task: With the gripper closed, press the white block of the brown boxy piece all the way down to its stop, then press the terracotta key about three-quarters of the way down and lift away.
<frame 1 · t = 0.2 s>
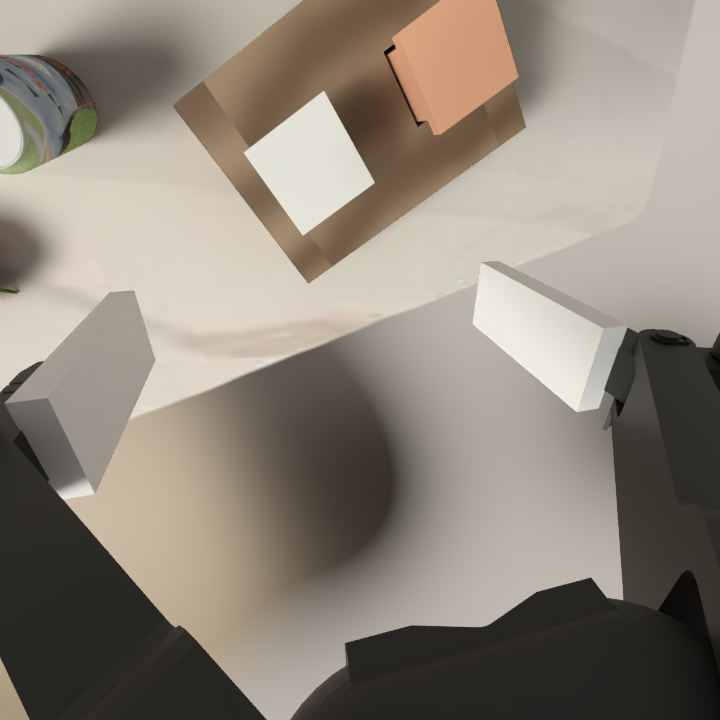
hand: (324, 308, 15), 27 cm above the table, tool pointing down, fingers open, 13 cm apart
brown boxy piece: (348, 121, 36), on the table
beverage can: (59, 115, 32), on the table
white block: (306, 165, 30), point 8 cm above the table, slide at 0.0 cm
terracotta key: (437, 66, 29), point 8 cm above the table, slide at 0.0 cm
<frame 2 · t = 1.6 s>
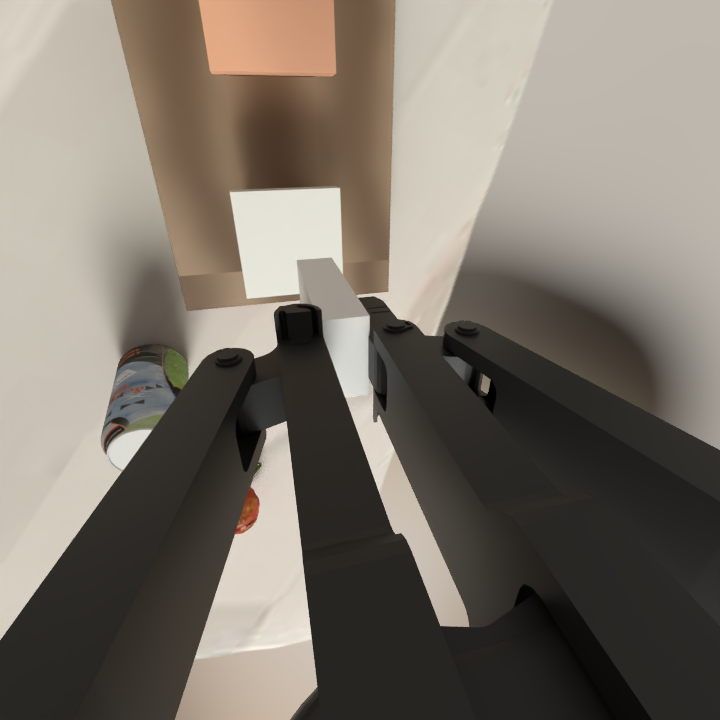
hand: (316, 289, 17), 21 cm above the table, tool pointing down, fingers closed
brown boxy piece: (271, 136, 32), on the table
red round fruit: (232, 476, 48), on the table
beverage can: (163, 368, 39), on the table
white block: (286, 232, 28), point 8 cm above the table, slide at 0.0 cm
terracotta key: (264, 12, 22), point 8 cm above the table, slide at 0.0 cm
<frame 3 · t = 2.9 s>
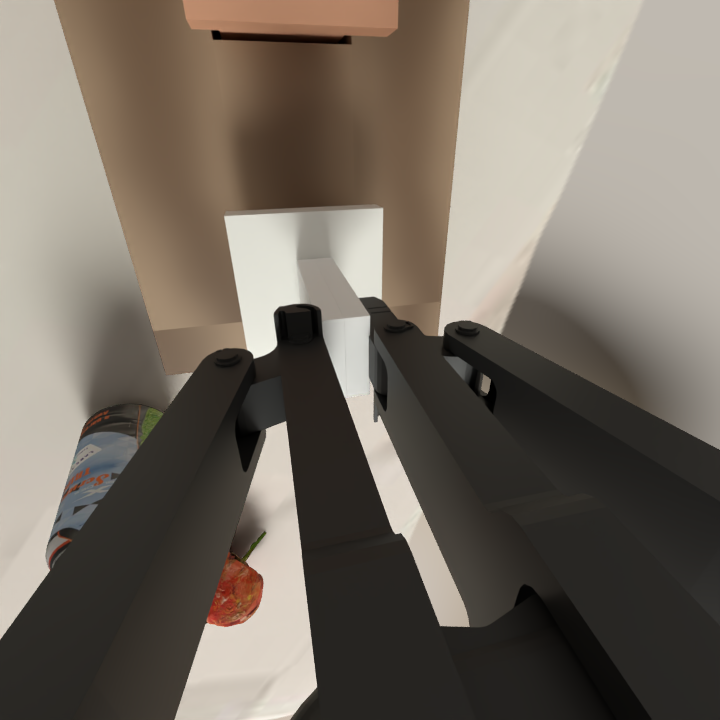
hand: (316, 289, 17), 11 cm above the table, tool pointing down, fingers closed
brown boxy piece: (281, 134, 23), on the table
red round fruit: (230, 546, 40), on the table
beverage can: (142, 429, 31), on the table
white block: (302, 264, 21), point 7 cm above the table, slide at 1.3 cm, touching gripper
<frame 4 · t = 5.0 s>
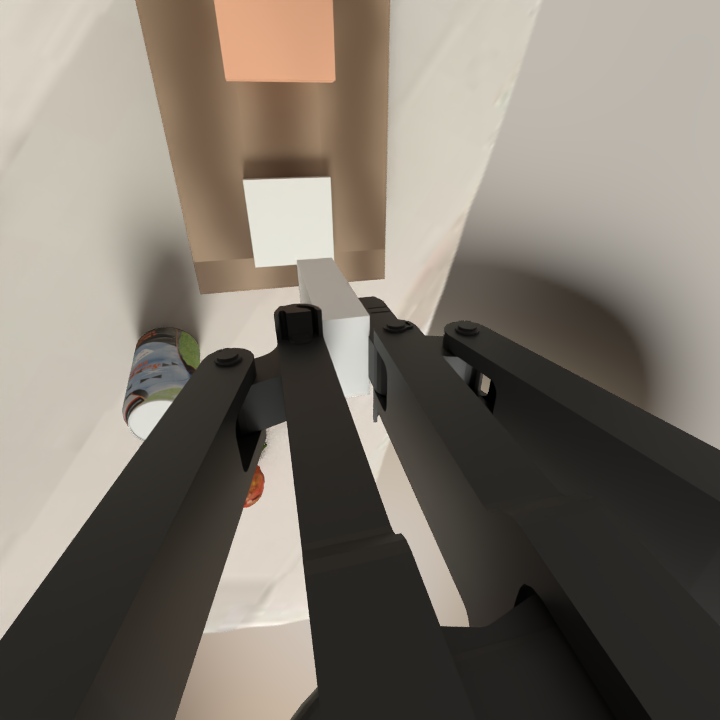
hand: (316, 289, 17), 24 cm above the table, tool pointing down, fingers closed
brown boxy piece: (277, 135, 35), on the table
red round fruit: (239, 455, 51), on the table
beverage can: (176, 351, 42), on the table
white block: (288, 215, 34), point 4 cm above the table, slide at 3.6 cm
terracotta key: (272, 26, 25), point 8 cm above the table, slide at 0.0 cm
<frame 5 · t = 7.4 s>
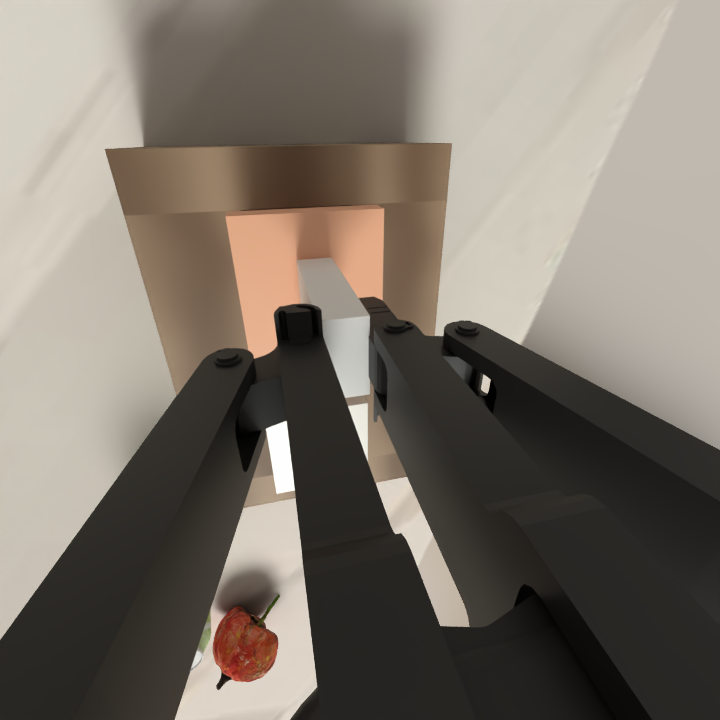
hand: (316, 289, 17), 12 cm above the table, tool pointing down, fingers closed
brown boxy piece: (299, 316, 30), on the table
red round fruit: (249, 607, 46), on the table
beverage can: (180, 523, 37), on the table
white block: (312, 414, 29), point 4 cm above the table, slide at 3.6 cm
terracotta key: (303, 264, 21), point 7 cm above the table, slide at 0.7 cm, touching gripper
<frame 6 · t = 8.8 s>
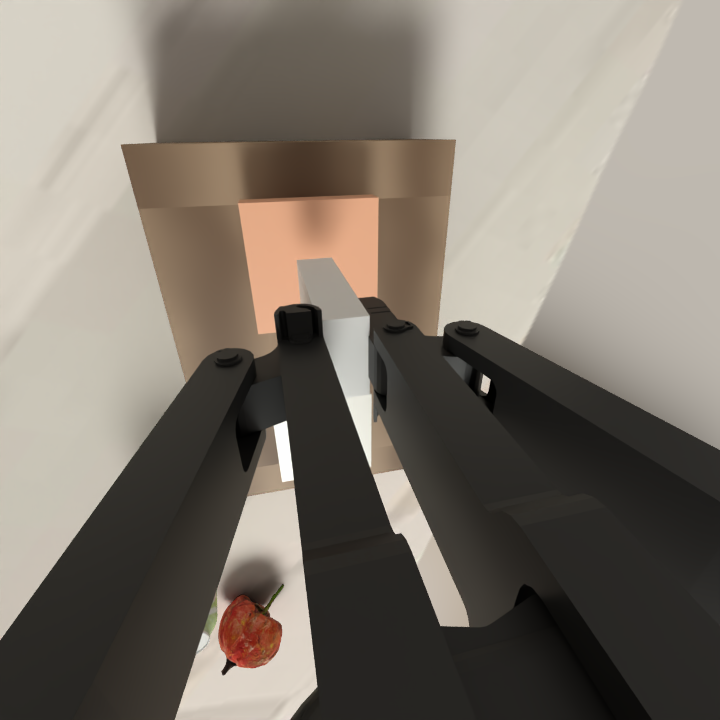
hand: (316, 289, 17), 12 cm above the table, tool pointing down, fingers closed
brown boxy piece: (305, 310, 31), on the table
red round fruit: (254, 596, 47), on the table
beverage can: (188, 512, 38), on the table
white block: (317, 405, 30), point 4 cm above the table, slide at 3.6 cm
terracotta key: (307, 249, 23), point 6 cm above the table, slide at 2.4 cm
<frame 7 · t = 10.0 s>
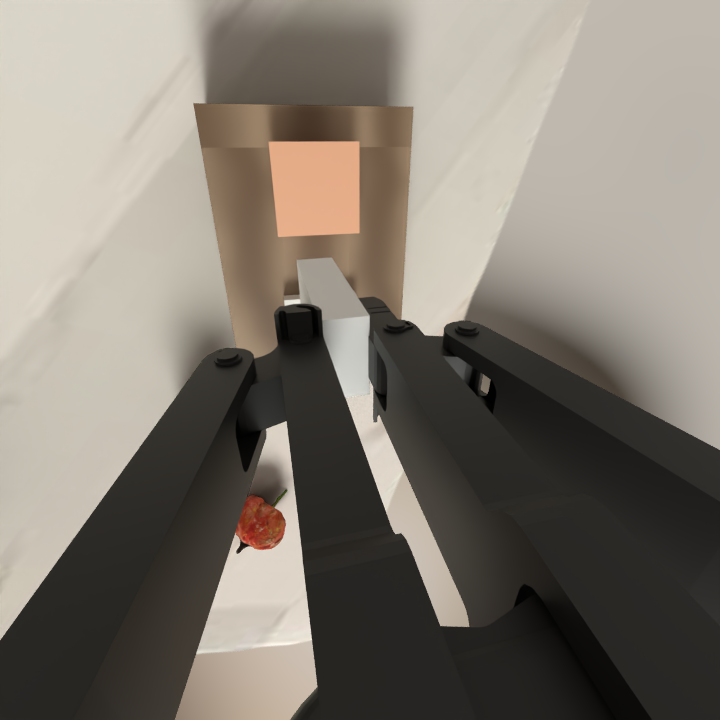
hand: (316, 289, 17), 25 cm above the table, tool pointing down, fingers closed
brown boxy piece: (309, 243, 40), on the table
red round fruit: (262, 499, 57), on the table
white block: (317, 313, 39), point 4 cm above the table, slide at 3.6 cm
terracotta key: (311, 185, 33), point 6 cm above the table, slide at 2.4 cm
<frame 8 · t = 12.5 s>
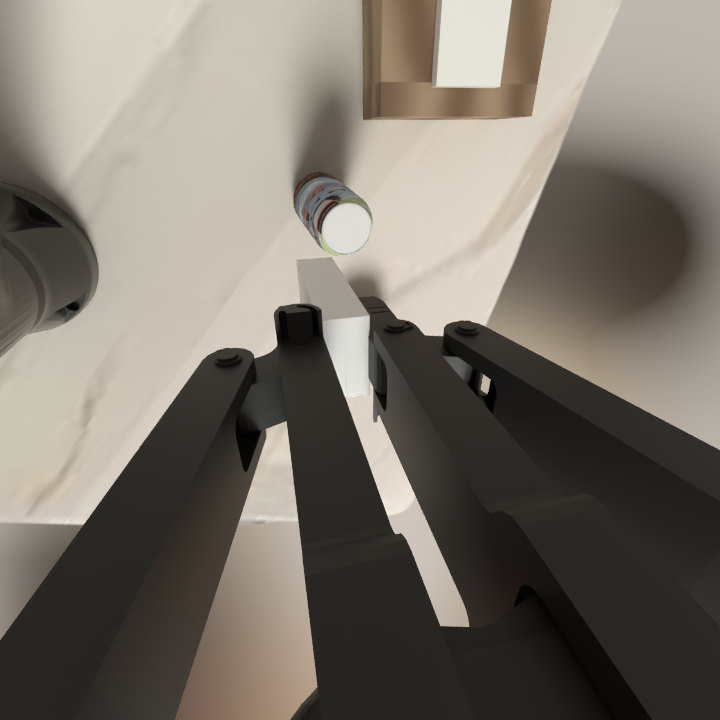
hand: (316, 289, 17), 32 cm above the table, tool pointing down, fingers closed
beverage can: (322, 204, 46), on the table
white block: (453, 51, 38), point 4 cm above the table, slide at 3.6 cm
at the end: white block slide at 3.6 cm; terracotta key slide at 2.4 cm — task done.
